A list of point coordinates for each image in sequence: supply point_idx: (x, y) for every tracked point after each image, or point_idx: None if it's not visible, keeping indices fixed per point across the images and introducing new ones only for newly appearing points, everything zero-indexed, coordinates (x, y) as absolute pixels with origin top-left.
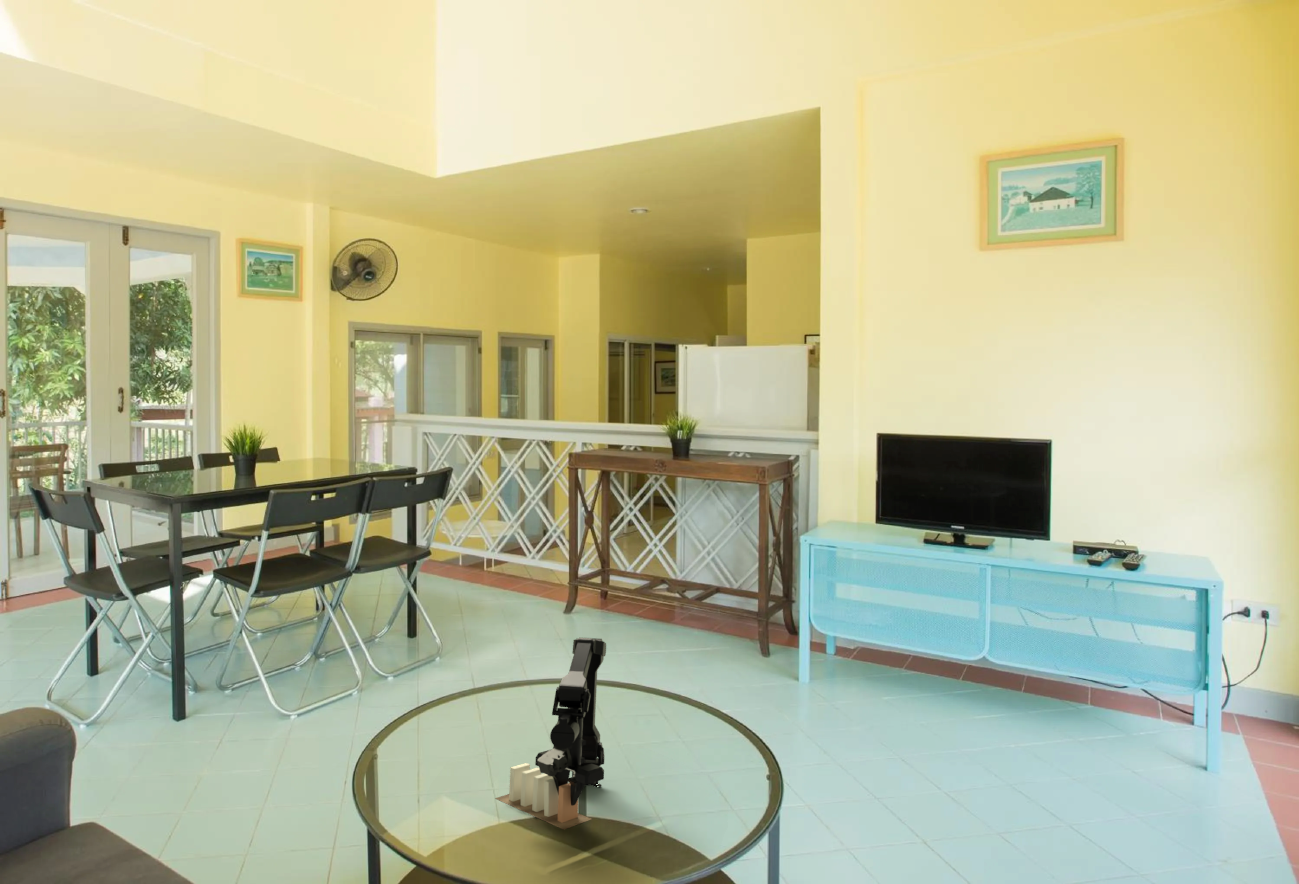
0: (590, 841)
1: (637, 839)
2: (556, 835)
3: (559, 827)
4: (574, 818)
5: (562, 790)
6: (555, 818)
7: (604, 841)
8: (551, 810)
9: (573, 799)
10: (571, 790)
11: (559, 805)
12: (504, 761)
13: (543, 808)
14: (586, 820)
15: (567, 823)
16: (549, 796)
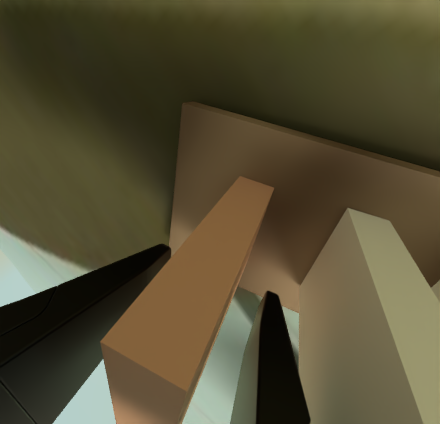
0: (85, 110)
1: (36, 198)
2: (218, 70)
3: (215, 113)
4: None
5: (144, 316)
6: (299, 207)
7: (63, 139)
8: (341, 243)
9: (121, 263)
10: (55, 312)
11: (241, 228)
12: None
13: (433, 292)
14: (173, 237)
15: (214, 180)
16: (373, 309)
